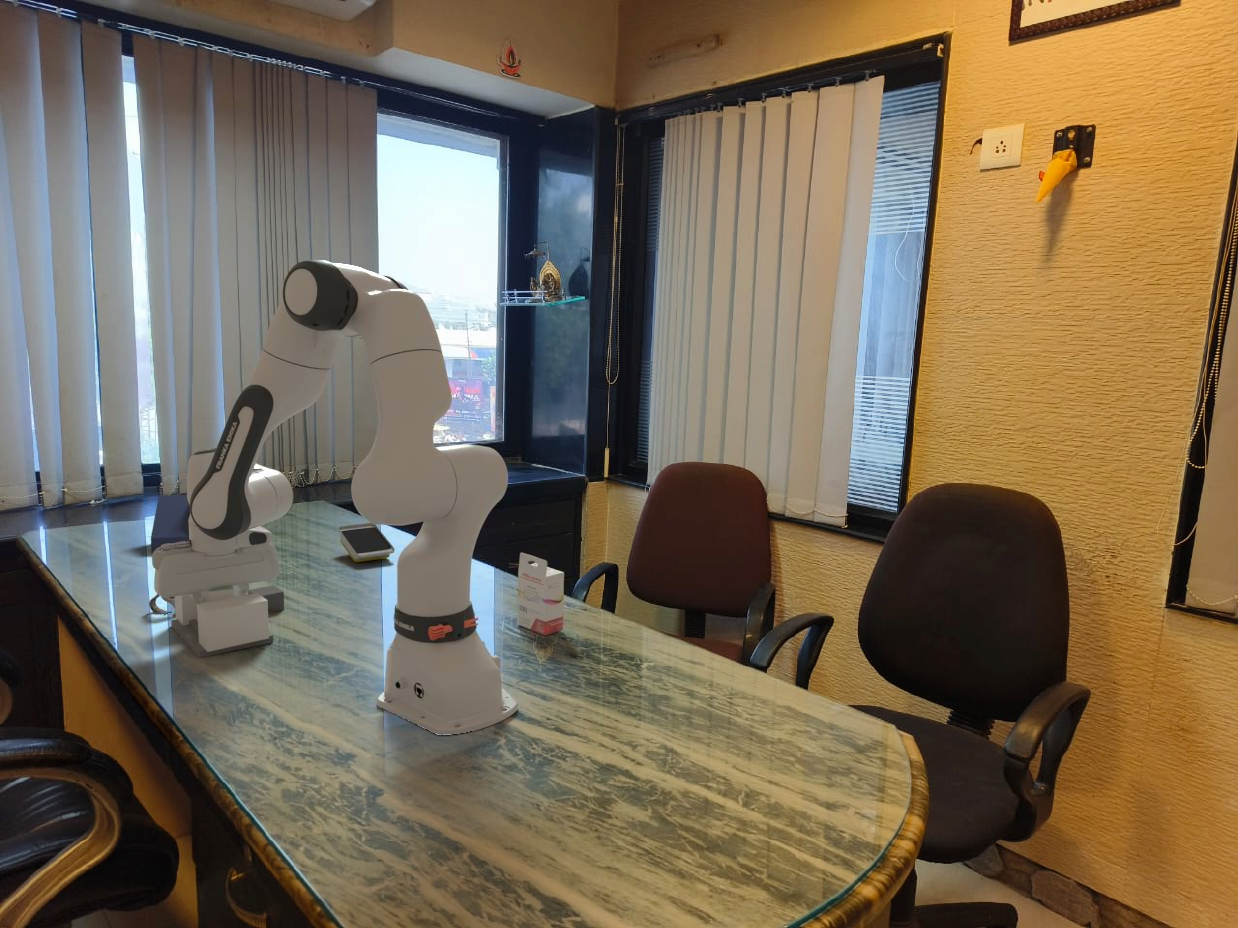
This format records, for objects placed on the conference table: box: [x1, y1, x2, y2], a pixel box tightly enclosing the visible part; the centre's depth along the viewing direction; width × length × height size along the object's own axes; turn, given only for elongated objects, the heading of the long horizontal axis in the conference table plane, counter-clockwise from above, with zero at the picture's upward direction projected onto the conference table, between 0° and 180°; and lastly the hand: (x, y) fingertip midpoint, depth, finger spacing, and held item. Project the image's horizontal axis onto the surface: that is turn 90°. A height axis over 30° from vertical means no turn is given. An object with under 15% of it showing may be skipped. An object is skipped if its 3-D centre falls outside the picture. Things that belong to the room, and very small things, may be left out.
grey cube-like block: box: [247, 584, 285, 614], centre depth 157 cm, size 5×5×4 cm
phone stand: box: [150, 494, 190, 555], centre depth 197 cm, size 12×12×12 cm
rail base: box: [170, 586, 274, 658], centre depth 143 cm, size 20×12×8 cm, turn 43°
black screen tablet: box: [338, 522, 395, 563], centre depth 196 cm, size 9×4×15 cm
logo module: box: [206, 586, 234, 602], centre depth 143 cm, size 7×4×7 cm, turn 32°
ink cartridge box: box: [516, 552, 565, 636], centre depth 153 cm, size 9×5×15 cm, turn 47°
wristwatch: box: [148, 593, 176, 617], centre depth 152 cm, size 4×6×5 cm, turn 78°
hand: (220, 610), depth 143 cm, fingers closed on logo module, 4 cm apart
